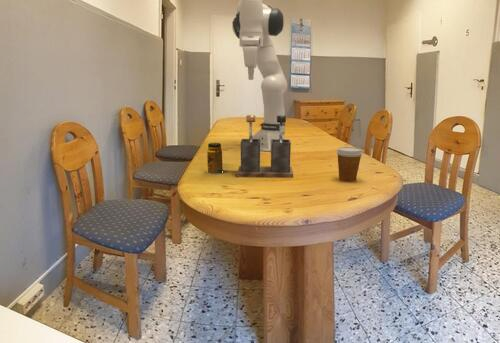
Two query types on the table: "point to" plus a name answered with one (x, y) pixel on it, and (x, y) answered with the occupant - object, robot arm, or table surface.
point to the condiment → (215, 159)
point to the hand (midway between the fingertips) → (251, 79)
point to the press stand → (278, 159)
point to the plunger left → (250, 125)
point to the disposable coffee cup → (348, 163)
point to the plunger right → (281, 125)
